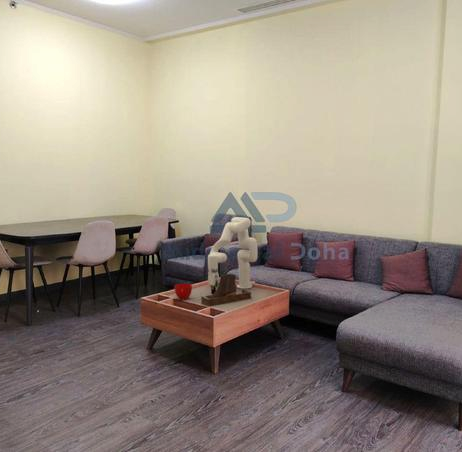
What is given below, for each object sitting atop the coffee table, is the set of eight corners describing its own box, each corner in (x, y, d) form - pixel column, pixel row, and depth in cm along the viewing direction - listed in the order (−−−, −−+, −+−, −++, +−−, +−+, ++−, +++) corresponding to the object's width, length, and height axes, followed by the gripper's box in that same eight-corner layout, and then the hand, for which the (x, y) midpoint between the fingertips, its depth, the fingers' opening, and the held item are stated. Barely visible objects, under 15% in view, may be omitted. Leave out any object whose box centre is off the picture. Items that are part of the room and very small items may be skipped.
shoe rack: (243, 295, 353) (243, 289, 353) (251, 298, 344) (251, 292, 344) (201, 302, 333) (201, 296, 333) (208, 306, 324) (208, 299, 324)
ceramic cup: (173, 302, 335) (173, 289, 334) (175, 296, 351) (175, 283, 350) (191, 302, 336) (191, 288, 335) (192, 295, 352) (192, 283, 351)
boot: (203, 300, 340) (203, 274, 337) (235, 298, 345) (235, 272, 343) (205, 303, 331) (204, 276, 329) (237, 301, 337) (237, 274, 335)
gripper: (222, 271, 341) (222, 295, 344) (212, 268, 354) (213, 291, 356) (213, 272, 337) (214, 296, 339) (204, 269, 350) (204, 292, 352)
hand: (213, 293), depth 348 cm, fingers closed
